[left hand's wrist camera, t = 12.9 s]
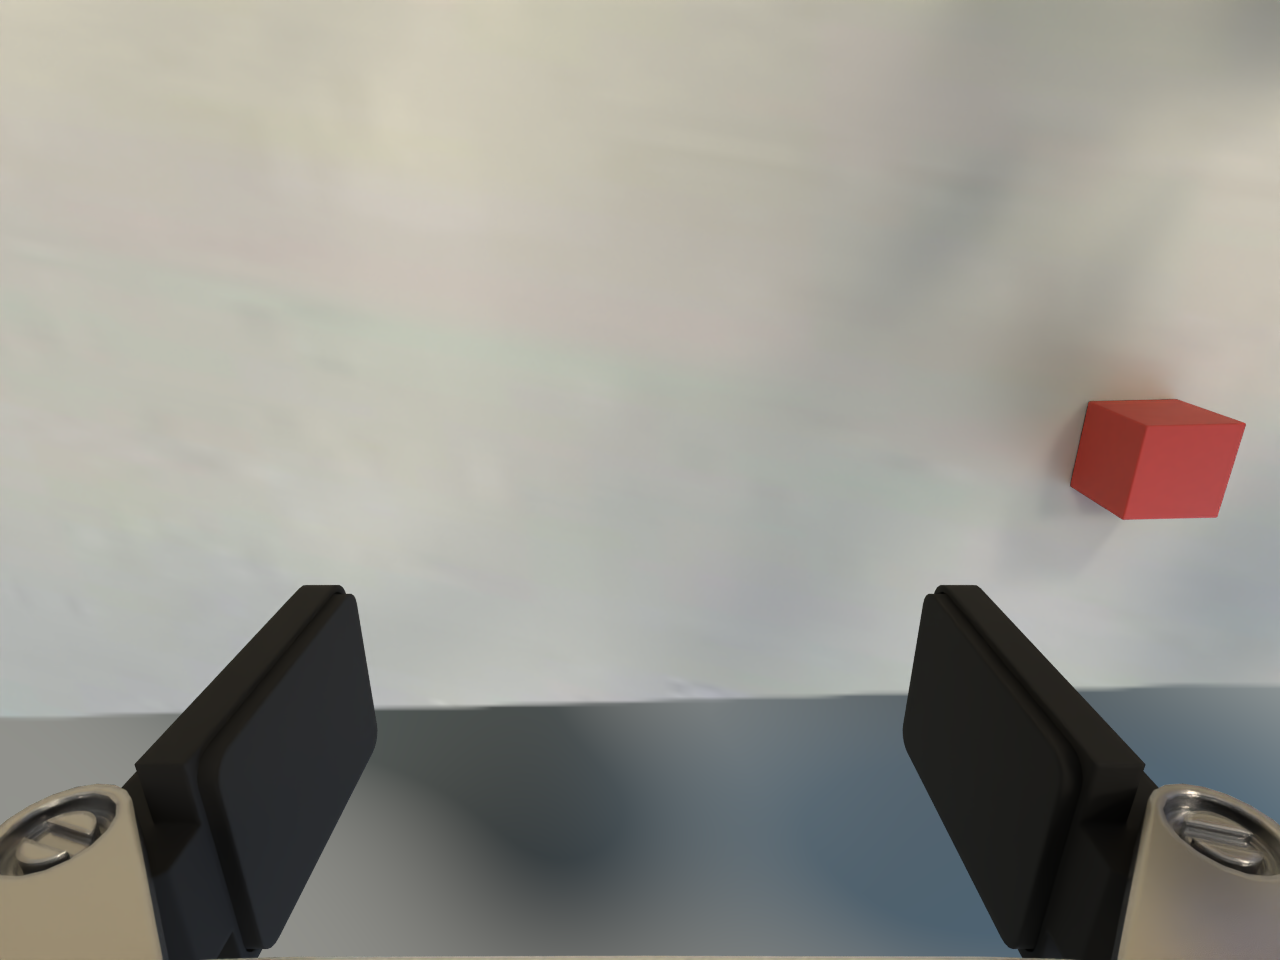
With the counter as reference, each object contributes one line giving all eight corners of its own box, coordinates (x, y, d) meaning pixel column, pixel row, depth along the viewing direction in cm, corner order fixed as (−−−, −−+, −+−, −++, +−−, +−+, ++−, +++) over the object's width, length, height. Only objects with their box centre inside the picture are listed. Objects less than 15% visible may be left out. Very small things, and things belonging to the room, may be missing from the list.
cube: (1069, 486, 36) (1122, 520, 32) (1087, 401, 34) (1146, 425, 30) (1154, 484, 36) (1217, 518, 32) (1176, 398, 34) (1247, 423, 30)
